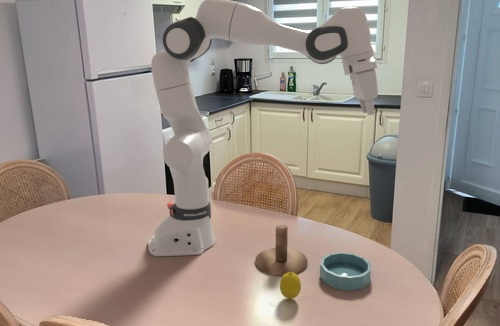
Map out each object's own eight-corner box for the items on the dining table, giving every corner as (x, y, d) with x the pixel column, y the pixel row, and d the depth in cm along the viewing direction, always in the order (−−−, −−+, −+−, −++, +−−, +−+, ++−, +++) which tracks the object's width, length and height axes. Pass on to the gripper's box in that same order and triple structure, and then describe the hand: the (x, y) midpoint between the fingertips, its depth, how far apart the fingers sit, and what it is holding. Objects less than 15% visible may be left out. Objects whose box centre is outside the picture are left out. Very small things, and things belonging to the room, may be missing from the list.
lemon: (299, 306, 114) (300, 279, 112) (278, 303, 115) (278, 276, 113) (301, 294, 119) (302, 267, 117) (281, 291, 120) (281, 266, 118)
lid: (263, 280, 126) (263, 242, 123) (249, 254, 141) (249, 219, 138) (315, 272, 130) (316, 235, 127) (296, 247, 145) (297, 214, 142)
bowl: (333, 293, 119) (333, 280, 118) (313, 268, 132) (313, 256, 131) (379, 285, 122) (380, 273, 121) (355, 261, 135) (356, 249, 134)
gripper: (344, 69, 134) (352, 113, 137) (353, 66, 114) (362, 118, 116) (364, 64, 134) (373, 109, 136) (377, 61, 114) (386, 113, 116)
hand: (368, 113), depth 126 cm, fingers open, 8 cm apart
